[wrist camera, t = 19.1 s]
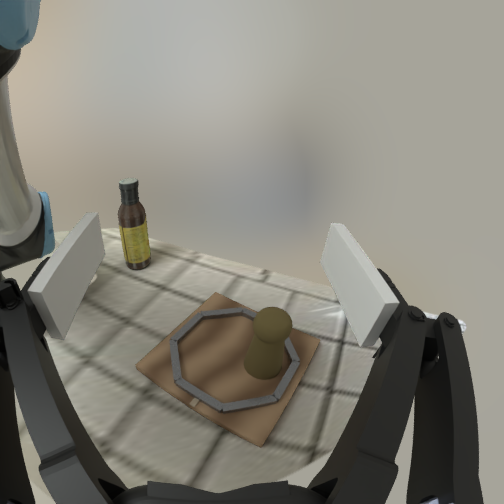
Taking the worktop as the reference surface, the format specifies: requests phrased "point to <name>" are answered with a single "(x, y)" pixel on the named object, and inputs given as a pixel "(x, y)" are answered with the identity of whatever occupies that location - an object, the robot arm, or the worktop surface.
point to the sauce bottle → (133, 226)
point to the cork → (268, 343)
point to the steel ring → (207, 398)
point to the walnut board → (226, 370)
